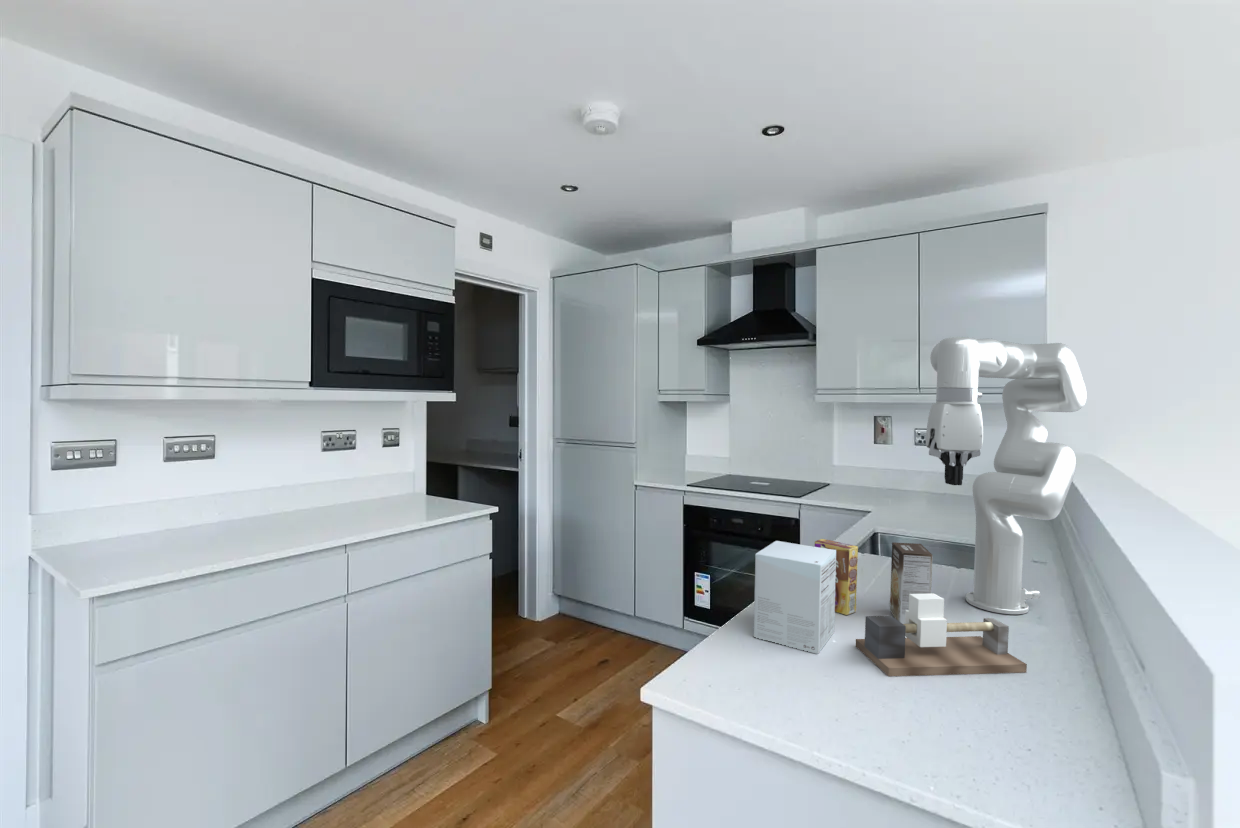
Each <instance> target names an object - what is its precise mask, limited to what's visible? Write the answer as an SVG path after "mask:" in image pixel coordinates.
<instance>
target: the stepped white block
mask: <svg viewBox="0 0 1240 828" xmlns="http://www.w3.org/2000/svg"><path fill="white" fill-rule="evenodd" d="M944 611H945V598H944V597H941V596H939V595H938V594H936V593H932V592H931V594H909V610H906V611H905V624H917V633H905V638H908V639H910V640H911V641H913V642H914V643H915V644H917V645H918V646H919V647H946V637H947V634H948V632H947V623H948V619H947V618H945V617H944V616H945V612H944Z"/></svg>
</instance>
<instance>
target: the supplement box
mask: <svg viewBox="0 0 1240 828" xmlns="http://www.w3.org/2000/svg"><path fill="white" fill-rule="evenodd" d="M754 557H755V558H754V559H755V561H754V562H755V563H754V565H755V566H754V567H755V568H754V607H753V635H752V636H754V637H756V638H755V639H757V638H759V639H758V640H761V639H763V640H762V641H764V640H768V641H772V642H775V643H774V644H776V643H779V644H778V645H780V644H782V645H781V646H784V645H786V646H785V647H788V646H789V648H792V647H793V648H792V649H796V648H797V650H800V651H803V650H804V651H805V652H807V651H808V653H811V654H817V655H818V654H820V652H821V651H822V649H823V648H824V647H825V645H826V644H827V643H828V641H829V640H830V638H832V636H833V634H835V615H836V614H835V613H836V612H835V579H836V550H833V549H826V548H820V547H815V546H813V545H806V544H798V543H793V542H792V543H791V542H787V541H780V540H775V541H773V542H771V543H770V544H769V545H767V546H765V547H764V548H762V549H761V550H759V551H757V552H756V553H755V555H754ZM754 637H753V638H754ZM768 641H767V642H768ZM772 642H771V643H772Z"/></svg>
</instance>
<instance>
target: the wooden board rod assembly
mask: <svg viewBox="0 0 1240 828" xmlns="http://www.w3.org/2000/svg"><path fill="white" fill-rule="evenodd" d="M864 620H865V622H864V624H865V625H864V626H865V627H864V630H865V631H864V638H855V647H856V649H858V650H859V652H861V653H862V654H863V655H864V656H865V657H867V659H868V660H870V662H872V663H873V664H874V665H875V666H877V668H878V669H880V670H881V671H882V672H883V673H885V675H887V676H888V677H909V676H910V677H914V676H915V677H916V676H946V675H947V676H948V675H980V674H981V675H982V674H1013V673H1014V674H1018V673H1020V674H1021V673H1027V670H1028V669H1027V668H1028V667H1027V666H1028V665H1027V662H1024V661H1022V660H1021V659H1019V658H1017V657H1015V656H1014V655H1012V654H1010V652H1009V631H1010V630H1009V629H1010V626H1009V625H1007V624H1005V623H1004V622H1002V621H1000V620H998V619H996V618H994V617H983V619H982V620H983V621H982V622H981V621H978V622H977V621H973V622H971V621H970V622H969V621H968V622H947V633H954V632H955V633H958V632H959V633H960V632H961V633H962V632H967V633H968V632H982V636H980V635H979V636H977V635H976V636H974V635H973V636H946V647H919V646H918V645H917V644H915V643H914V642H913V641H911V640H910V639H908V638H907V637H906V636H905V633H917V624H902V623H901V622H899V621H898V620H896V618H895V617H894V616H892V615H890V614H889V615H866V616H865V619H864Z"/></svg>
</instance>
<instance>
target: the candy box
mask: <svg viewBox="0 0 1240 828" xmlns="http://www.w3.org/2000/svg"><path fill="white" fill-rule="evenodd" d="M814 547H820V548H826V549H833V550H836V579H835V613H838V614H841V615H844V616H845V615H846V616H849V615H852V614H854V613H856V612H857V588H858V587H857V586H858V585H857V584H858V582H857V581H858V560H859V559H858V557H859V556H858V555H859V546H858V545H853V544H849V543H843V542H839V541H836V540H835V541H834V540H831V539H825V538H820V539H817V540H815V541H814Z"/></svg>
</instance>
